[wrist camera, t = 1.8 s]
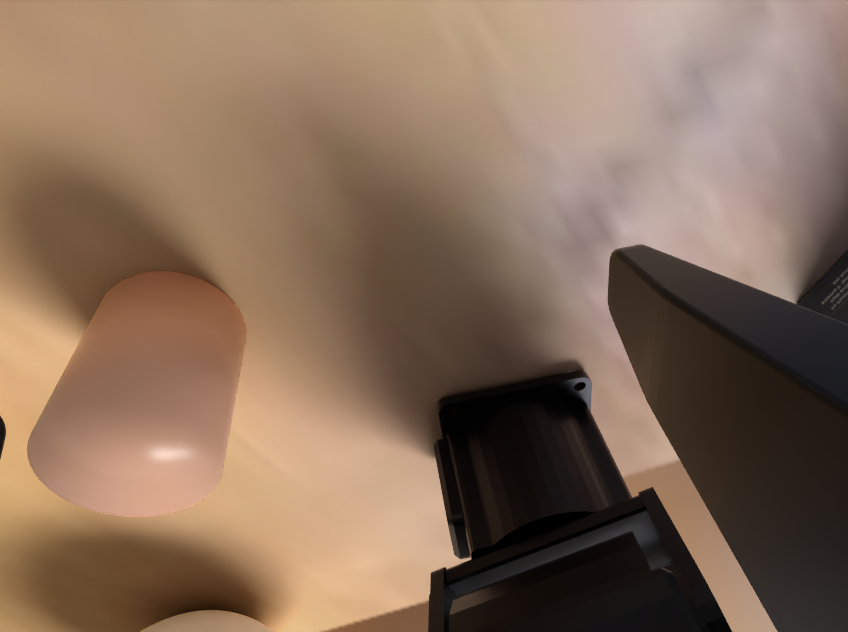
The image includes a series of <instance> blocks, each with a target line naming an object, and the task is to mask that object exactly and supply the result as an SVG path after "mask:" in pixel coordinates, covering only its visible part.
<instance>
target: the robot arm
mask: <svg viewBox="0 0 848 632" xmlns="http://www.w3.org/2000/svg"><path fill="white" fill-rule="evenodd" d="M608 305H609V310H610V313H611V316H612V319H613V321H614V323H615V326H616V328H617V331H618V333H619V335H620V338H621V340H622V343H623V345H624V348H625V350H626V352H627V355H628V357H629V360H630V362H631V364H632V367H633V369H634V372H635V374H636V376H637V379H638V381H639V384H640V386H641V388H642V391H643V393H644V395H645V397H646V400H647V402H648V404H649V405H650V407H651V409H652V411H653V413H654V415H655V417H656V418H657V420H658V422H659V424H660V425H661V427H662V429H663V431H664V433H665V434H666V436H667V438H668V440H669V441H670V443H671V445H672V447H673V448H674V450H675V452H676V454H677V455H678V457H679V459H680V461H681V462H682V464H683V466H684V468H685V469H686V471H687V473H688V475H689V476H690V478H691V480H692V482H693V484H694V485H695V487H696V489H697V490H698V492H699V494H700V496H701V498H702V499H703V501H704V503H705V505H706V506H707V508H708V510H709V511H710V513H711V515H712V517H713V518H714V520H715V522H716V524H717V525H718V527H719V529H720V531H721V533H722V534H723V536H724V538H725V540H726V541H727V543H728V545H729V547H730V548H731V550H732V552H733V554H734V556H735V557H736V559H737V561H738V563H739V564H740V566H741V568H742V569H743V571H744V573H745V575H746V576H747V578H748V580H749V582H750V584H751V585H752V587H753V589H754V591H755V592H756V594H757V596H758V598H759V600H760V601H761V603H762V605H763V607H764V608H765V610H766V612H767V614H768V615H769V617H770V619H771V621H772V622H773V624H774V626H775V628H776V629H777V631H778V632H848V324H846V323H843V322H841V321H838V320H835V319H833V318H830V317H828V316H825V315H823V314H820V313H817V312H815V311H812V310H810V309H807V308H805V307H802V306H799V305H797V304H794V303H792V302H789V301H787V300H784V299H781V298H779V297H776V296H774V295H771V294H769V293H766V292H763V291H761V290H758V289H756V288H753V287H751V286H748V285H745V284H743V283H740V282H738V281H735V280H733V279H730V278H727V277H725V276H722V275H720V274H717V273H715V272H712V271H709V270H707V269H704V268H702V267H699V266H697V265H694V264H691V263H689V262H686V261H684V260H681V259H679V258H676V257H673V256H671V255H668V254H666V253H663V252H661V251H658V250H655V249H653V248H650V247H648V246H645V245H634V246H629V247H625V248H620V249H616V250H614V251H613V252H612V254H611V257H610V264H609V283H608ZM579 382H580V383H579ZM577 383H579V384H577ZM591 388H592V383H591V380H590V378H589V376H588V374H586V373H585V372H583V371H576V372H571V373H566V374H561V375H556V376H551V377H546V378H541V379H536V380H530V381H525V382H520V383H515V384H510V385H505V386H500V387H495V388H490V389H485V390H480V391H475V392H470V393H465V394H460V395H455V396H450V397H446V398H443V399H442V400H440V401H439V403H438V407H437V408H438V413H439V418H440V424H441V429H442V434H443V439H440V440H437V441H436V443H435V444H434V451H435V456H436V462H437V467H438V472H439V478H440V483H441V489H442V494H443V500H444V505H445V511H446V516H447V522H448V526H449V531H450V536H451V541H452V545H453V550H454V555H455V556H457V557H458V558H459V559H464V558H469V557H470V559H471V560H469V561H467V562H464V563H462V564H459V565H456V566H454V567H451V568H449V569H446V568H445V567H444V568H442V569H439V570H436V571H434V572H432V573H431V590H430V595H429V626H428V628H429V629H428V632H732V631H731V629H730V627H729V625H728V623H727V621H726V619H725V617H724V615H723V613H722V611H721V609H720V607H719V606H718V603H717V601H716V600H715V598H714V596H713V594H712V592H711V590H710V588H709V586H708V584H707V583H706V581H705V579H704V577H703V576H702V574H701V572H700V570H699V568H698V566H697V565H696V563H695V561H694V559H693V558H692V556H691V554H690V552H689V551H688V549H687V547H686V545H685V543H684V542H683V540H682V538H681V536H680V535H679V533H678V531H677V529H676V528H675V526H674V524H673V522H672V520H671V519H670V517H669V515H668V514H667V512H666V510H665V508H664V507H663V505H662V503H661V501H660V499H659V498H658V496H657V494H656V492H655V490H654V489H653V487H651V488H649V489H646V490H643V491H641V492H639V495H638V496H635V497H633V498H632V496H631V494H630V492H629V490H628V488H627V486H626V484H625V482H624V480H623V478H622V476H621V474H620V471H619V469H618V467H617V465H616V463H615V461H614V459H613V457H612V455H611V453H610V451H609V449H608V447H607V445H606V443H605V441H604V439H603V436H602V434H601V432H600V430H599V428H598V426H597V424H596V422H595V420H594V418H593V416H592V414H591ZM448 408H452V409H448ZM5 436H6V428H5V424H4V421H3V419H2V418H1V416H0V458H1V454H2V450H3V445H4V441H5Z"/></svg>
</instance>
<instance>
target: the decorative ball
mask: <svg viewBox="0 0 848 632" xmlns="http://www.w3.org/2000/svg"><path fill="white" fill-rule="evenodd" d="M140 632H274V631H273V630H272V629H270V628H269V627H267V626H266V625H264V624H262V623H261V622H259V621H257V620H255V619H253V618H250V617H248V616H245V615H242V614H238V613H234V612H229V611H221V610H202V611H193V612H188V613H183V614H179V615H176V616H173V617H170V618H167V619H164V620H162V621H159V622H157V623H155V624H153V625H151V626H149V627H147V628H145V629H144V630H142V631H140Z"/></svg>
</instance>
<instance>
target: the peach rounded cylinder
mask: <svg viewBox="0 0 848 632" xmlns="http://www.w3.org/2000/svg"><path fill="white" fill-rule="evenodd" d="M245 342H246V326H245V322H244V319H243V316H242V314H241V313H240V311H239V309H238V308H237V306H236V305H235V303H234V302H233V301H232V300H231V299H230V298H229V297H228V296H227V295H226V294H225V293H224V292H222V291H221V290H220V289H218V288H217V287H215V286H214V285H212V284H210V283H208V282H206V281H205V280H202V279H200V278H197V277H195V276H191V275H188V274H184V273H178V272H171V271H152V272H144V273H140V274H136V275H133V276H130V277H128V278H125V279H124V280H122V281H120V282H118V283H117V284H116V285H114V286H113V287H112V288H111V289H110V290H109V291H108V292H107V293H106V294H105V296H104V297H103V299H102V301H101V302H100V304H99V306H98V308H97V310H96V312H95V314H94V316H93V318H92V319H91V321H90V323H89V325H88V327H87V329H86V331H85V333H84V335H83V336H82V338H81V340H80V342H79V344H78V346H77V348H76V350H75V351H74V353H73V355H72V357H71V359H70V361H69V363H68V365H67V367H66V368H65V370H64V372H63V374H62V376H61V378H60V380H59V382H58V384H57V385H56V387H55V389H54V391H53V393H52V395H51V397H50V399H49V400H48V402H47V404H46V406H45V408H44V410H43V412H42V414H41V416H40V417H39V419H38V421H37V423H36V425H35V427H34V429H33V431H32V433H31V435H30V438H29V440H28V446H27V453H28V459H29V462H30V465H31V467H32V469H33V471H34V473H35V474H36V476H37V477H38V478H39V480H40V481H41V482H42V483H43V484H44V485H45V486H46V487H47V488H49V489H50V490H51V491H53V492H54V493H55V494H57V495H58V496H60V497H62V498H63V499H65V500H67V501H69V502H71V503H73V504H75V505H78V506H80V507H83V508H85V509H88V510H92V511H95V512H99V513H104V514H108V515H115V516H123V517H151V516H160V515H166V514H170V513H174V512H178V511H181V510H184V509H186V508H188V507H191V506H193V505H195V504H197V503H198V502H200V501H201V500H203V499H204V498H205V497H207V496H208V495H209V494H210V493H211V492H212V491H213V490H214V489H215V487H216V486H217V484H218V483H219V481H220V478H221V476H222V472H223V466H224V461H225V455H226V449H227V444H228V438H229V432H230V427H231V421H232V415H233V410H234V404H235V398H236V393H237V387H238V381H239V376H240V370H241V364H242V359H243V353H244V348H245Z"/></svg>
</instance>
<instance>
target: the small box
mask: <svg viewBox="0 0 848 632" xmlns="http://www.w3.org/2000/svg"><path fill="white" fill-rule="evenodd" d="M798 305H799V306H802V307H805V308H807V309H810V310H812V311H815V312H817V313H820V314H823V315H825V316H828V317H830V318H833V319H835V320H838V321H841V322H843V323H846V324H848V251H847V252H846V253H845V254H844V255H843V257H842V258H841V259H840V260H839V261H838V262H837V263H836V264H835V265H834V266H833V267H832V268H831V269H830V270H829V271H828V272H827V273H826V274H825V275H824V277H823V278H822V279H821V280H820V281H819V282H818V283H817V284H816V285H815V286H814V287H813V288H812V289H811V290H810V291H809V292H808V293H807V294H806V295H805V296H804V297H803V298H802V300H801V301H800V302H799V303H798Z"/></svg>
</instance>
